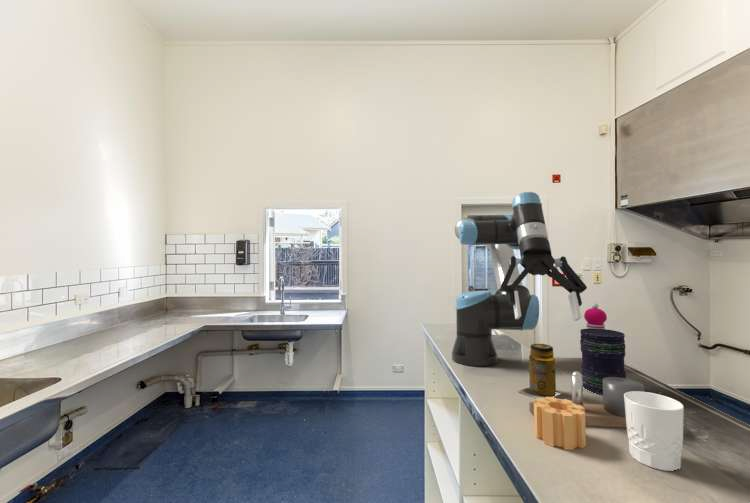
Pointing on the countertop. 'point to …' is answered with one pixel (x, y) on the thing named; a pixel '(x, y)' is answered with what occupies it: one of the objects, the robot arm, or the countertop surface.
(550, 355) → the condiment
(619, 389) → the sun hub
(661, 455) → the white cup
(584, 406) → the carrier bar
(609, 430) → the countertop surface
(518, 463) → the countertop surface
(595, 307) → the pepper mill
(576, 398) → the steel pin
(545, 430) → the planet gear
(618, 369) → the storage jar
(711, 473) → the countertop surface
